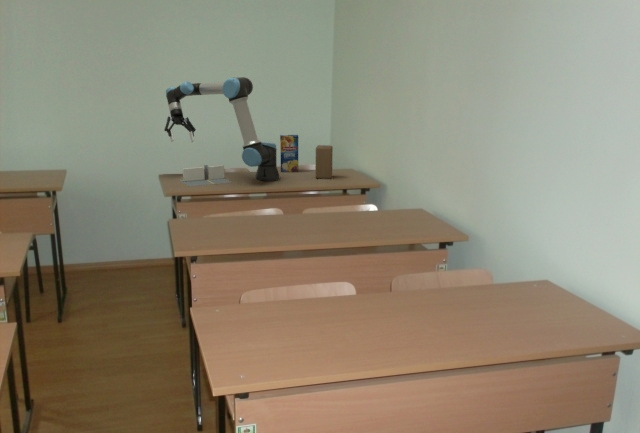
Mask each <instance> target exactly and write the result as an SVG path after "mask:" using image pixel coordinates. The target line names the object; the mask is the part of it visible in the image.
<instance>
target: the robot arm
mask: <svg viewBox="0 0 640 433" xmlns="http://www.w3.org/2000/svg"><path fill="white" fill-rule="evenodd" d="M253 89H254V84H253V82H252V80H250V78H248V77H244V76H243V77H239V76H238V77H230V78H227V79H225V81H215V82H212V81H211V82H196V83H191V81H189V80H188V81H184V82H182V83H181V84H179V85H178V86H176V87H175V86H171V87H168V88H167V89H166V90H165V96H166V100H167V105H168V109H169V114H170V115H169V116H167V118H166V124H165V126H164V132H166V133H167V135H168V137H169V138H170V142H171V143H173V142H174V141H175V139H174V134H173V130H172V129H173V127H174V126H176V125H177V126H178V125H179V126H182V127H184V128H185V129H186V130H187V131H188V132H189V133H188V134H189V138H190V142H191V143H193V142H194V141H195V139H194V137H195V135H194V133H195V131H196V130H197V129H196V127H195V126H194V125H193V124H192V122H191V121H190V119H189V117H188V116H187V117H184V113H183V110H182V105H181V100H182V99H184V98H185V97H190V96H191V97H192V96H204V95H205V96H206V95H207V96H208V95H209V96H210V95H224V96H225V97H226V98H227V99H228V101H229V104H231V105H232V106H233V110H234V114H235V117H236V120H237V124H238V127H239V130H240V133H241V136H242V141H243V144H242V149H243V150H242V153H241V159H242V161H243V163H244V164H245V165H247V166H248V167H257V170H256V172H255V180H257V181H260V182H274V181H278V180H280V173H279V170H278V167H277V150H278V149H277V145H276V143H274V142H262V141H261V140H260V139H259V138H258V135H257V132H256V128H255V124H254V121H253V118H252V114H251V111H250V107H249V105H248V101H247V100H249V95H251V93H252V92H253ZM170 122H172V124H171V125H170ZM169 125H170V127H169Z"/></svg>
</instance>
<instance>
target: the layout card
mask: <svg viewBox="0 0 640 433" xmlns="http://www.w3.org/2000/svg"><path fill="white" fill-rule="evenodd" d="M179 181H180V182H181V183H182V184H184V185H186V186H188V187H197V186H209V185H220V184H230V183H231V184H232V183H233V181H231V180H228V179H227V178H225V177H224V178H222V179H211V180H209V179H208V180H205V177H204V180H194V181H183V178H182V179H179Z"/></svg>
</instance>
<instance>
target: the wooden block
mask: <svg viewBox="0 0 640 433" xmlns="http://www.w3.org/2000/svg"><path fill="white" fill-rule="evenodd" d="M333 149H334V148H333V145H329V144H328V145H325V144H323V145H321V144H319V145H317V146H316V147H315V178H316V179H325V180H326V179H327V180H328V179H329V180H330V179H331V178H332V176H333Z"/></svg>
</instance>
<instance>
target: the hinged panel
mask: <svg viewBox="0 0 640 433" xmlns="http://www.w3.org/2000/svg"><path fill="white" fill-rule="evenodd" d="M204 178H205V171H204V166H202V167H199V166H198V167H187V168H182V179H183V181H194V180H204Z"/></svg>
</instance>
